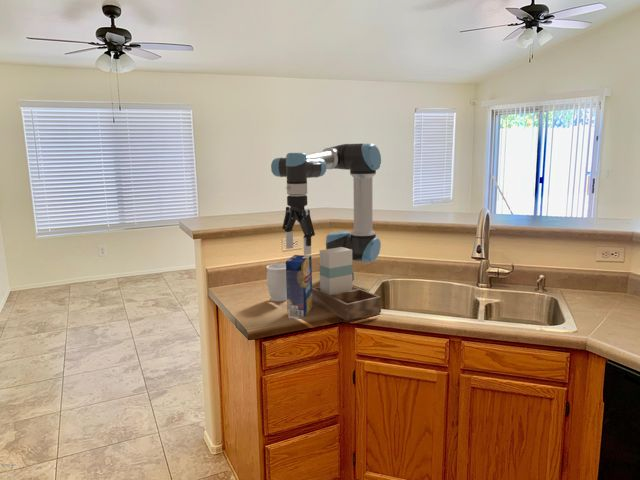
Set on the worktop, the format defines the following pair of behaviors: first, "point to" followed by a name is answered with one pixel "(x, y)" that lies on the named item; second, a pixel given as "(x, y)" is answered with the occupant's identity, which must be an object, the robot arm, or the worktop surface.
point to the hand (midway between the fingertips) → (298, 251)
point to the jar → (277, 282)
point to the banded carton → (336, 270)
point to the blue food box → (299, 286)
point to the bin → (348, 303)
